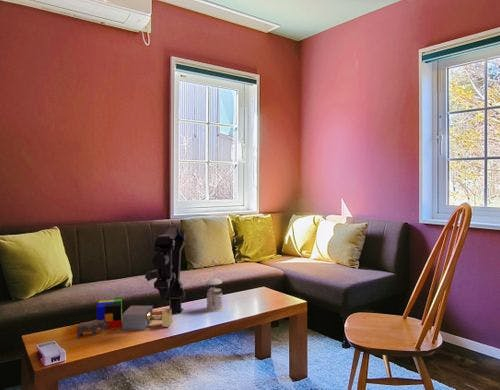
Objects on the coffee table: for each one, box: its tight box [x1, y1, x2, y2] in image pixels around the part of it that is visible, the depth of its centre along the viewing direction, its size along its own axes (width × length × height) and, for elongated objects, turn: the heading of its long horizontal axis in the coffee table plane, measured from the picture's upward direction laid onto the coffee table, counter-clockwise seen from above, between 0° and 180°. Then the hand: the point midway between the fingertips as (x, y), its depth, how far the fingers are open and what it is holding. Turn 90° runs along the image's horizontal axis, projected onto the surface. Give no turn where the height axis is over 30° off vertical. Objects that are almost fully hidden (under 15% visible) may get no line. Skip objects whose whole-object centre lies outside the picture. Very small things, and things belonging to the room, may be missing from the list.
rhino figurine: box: [76, 319, 110, 339], centre depth 166 cm, size 4×14×6 cm, turn 126°
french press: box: [204, 259, 225, 313], centre depth 198 cm, size 10×12×25 cm
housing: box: [121, 305, 154, 331], centre depth 176 cm, size 12×10×7 cm
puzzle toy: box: [96, 298, 123, 331], centre depth 177 cm, size 10×10×10 cm
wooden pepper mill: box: [148, 308, 173, 328], centre depth 176 cm, size 6×17×6 cm, turn 90°
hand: (165, 299), depth 175 cm, fingers open, 9 cm apart
